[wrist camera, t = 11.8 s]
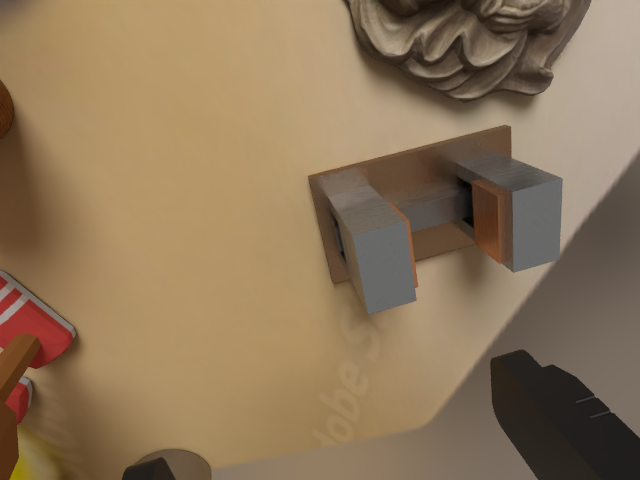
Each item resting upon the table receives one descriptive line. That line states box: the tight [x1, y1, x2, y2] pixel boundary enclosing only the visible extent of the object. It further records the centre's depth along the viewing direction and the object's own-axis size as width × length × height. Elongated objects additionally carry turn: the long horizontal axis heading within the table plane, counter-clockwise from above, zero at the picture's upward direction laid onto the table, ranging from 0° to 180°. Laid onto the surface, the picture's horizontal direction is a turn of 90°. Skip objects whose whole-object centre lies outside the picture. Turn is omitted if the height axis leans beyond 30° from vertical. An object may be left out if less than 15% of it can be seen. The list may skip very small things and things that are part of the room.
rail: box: [308, 125, 563, 283], centre depth 38 cm, size 11×19×10 cm, turn 102°
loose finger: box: [328, 186, 418, 315], centre depth 37 cm, size 7×5×9 cm, turn 12°
